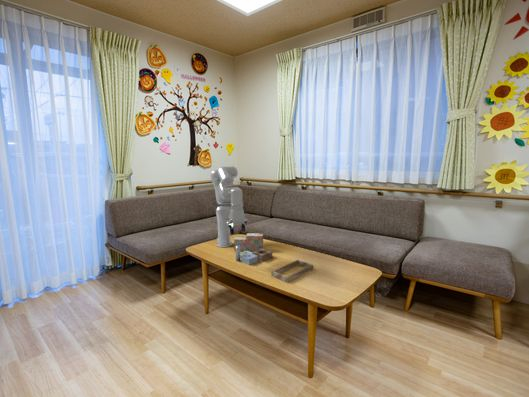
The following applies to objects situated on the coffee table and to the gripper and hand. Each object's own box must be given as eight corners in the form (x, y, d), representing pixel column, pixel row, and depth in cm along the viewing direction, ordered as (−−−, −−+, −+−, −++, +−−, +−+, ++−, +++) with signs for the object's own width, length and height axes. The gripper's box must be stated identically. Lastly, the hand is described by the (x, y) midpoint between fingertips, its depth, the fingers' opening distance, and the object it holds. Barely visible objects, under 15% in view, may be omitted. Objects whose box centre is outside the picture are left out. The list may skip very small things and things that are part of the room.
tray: (238, 256, 197) (238, 253, 197) (246, 253, 203) (246, 250, 202) (245, 259, 192) (245, 256, 191) (254, 256, 197) (254, 253, 197)
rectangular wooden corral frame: (271, 275, 165) (271, 271, 165) (297, 263, 183) (297, 259, 182) (287, 282, 157) (287, 278, 156) (313, 269, 174) (313, 264, 174)
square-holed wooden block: (252, 257, 194) (251, 252, 194) (262, 253, 201) (262, 248, 201) (262, 261, 187) (262, 255, 187) (272, 257, 194) (272, 251, 194)
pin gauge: (235, 260, 189) (234, 246, 188) (238, 259, 192) (238, 245, 190) (238, 261, 187) (237, 247, 186) (241, 260, 189) (241, 246, 188)
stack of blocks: (234, 251, 208) (233, 235, 205) (235, 248, 214) (235, 232, 212) (262, 251, 206) (262, 235, 204) (263, 248, 212) (263, 233, 210)
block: (241, 261, 187) (241, 255, 187) (249, 258, 193) (249, 252, 192) (249, 264, 182) (248, 259, 181) (257, 261, 187) (257, 255, 187)
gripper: (243, 205, 192) (243, 229, 194) (222, 208, 180) (223, 234, 182) (250, 206, 186) (251, 230, 189) (230, 210, 174) (231, 236, 177)
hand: (237, 232), depth 186 cm, fingers open, 9 cm apart
